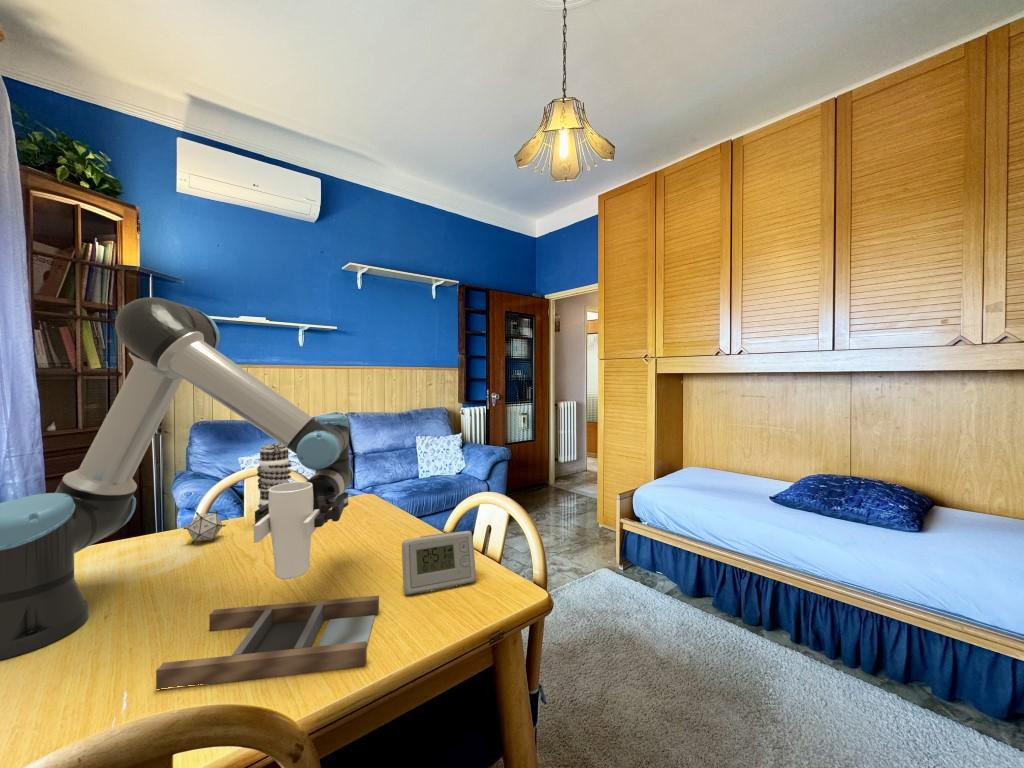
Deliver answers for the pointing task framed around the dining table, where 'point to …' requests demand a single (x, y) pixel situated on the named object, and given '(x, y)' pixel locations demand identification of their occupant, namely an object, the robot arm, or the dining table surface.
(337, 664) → the brown wooden divided tray
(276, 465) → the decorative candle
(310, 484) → the drinking glass
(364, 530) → the dining table surface
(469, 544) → the digital clock
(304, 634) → the tray
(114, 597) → the dining table surface
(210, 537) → the game die
